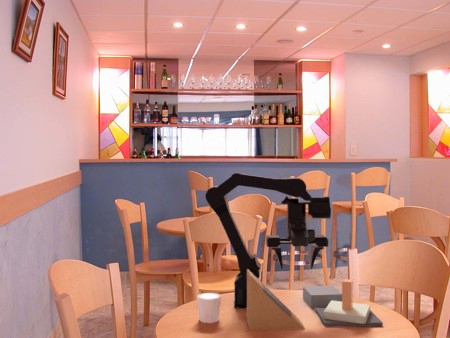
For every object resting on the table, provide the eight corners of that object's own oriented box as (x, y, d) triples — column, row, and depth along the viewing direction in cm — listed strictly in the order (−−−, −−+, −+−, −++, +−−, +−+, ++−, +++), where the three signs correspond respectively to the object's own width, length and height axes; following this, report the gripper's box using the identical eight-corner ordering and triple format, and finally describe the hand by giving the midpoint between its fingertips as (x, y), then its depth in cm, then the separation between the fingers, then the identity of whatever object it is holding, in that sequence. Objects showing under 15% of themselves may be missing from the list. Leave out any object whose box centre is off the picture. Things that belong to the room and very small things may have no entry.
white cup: (193, 322, 138) (193, 297, 138) (202, 314, 144) (202, 291, 144) (215, 325, 136) (215, 300, 135) (224, 317, 142) (224, 293, 142)
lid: (323, 318, 138) (323, 283, 138) (331, 306, 148) (331, 274, 148) (365, 324, 133) (365, 287, 133) (370, 311, 144) (370, 277, 144)
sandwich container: (306, 329, 132) (306, 274, 132) (250, 331, 132) (250, 275, 131) (299, 318, 141) (299, 267, 141) (246, 320, 140) (246, 268, 140)
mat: (324, 326, 134) (324, 323, 134) (315, 311, 147) (315, 308, 147) (382, 326, 135) (382, 322, 134) (367, 310, 148) (367, 307, 147)
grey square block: (311, 308, 150) (311, 295, 150) (302, 298, 160) (302, 286, 160) (342, 307, 151) (342, 294, 151) (332, 297, 161) (332, 285, 161)
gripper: (269, 222, 142) (269, 275, 143) (332, 221, 143) (332, 274, 143) (265, 217, 154) (265, 266, 154) (324, 216, 154) (324, 266, 154)
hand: (296, 268), depth 151 cm, fingers open, 9 cm apart
